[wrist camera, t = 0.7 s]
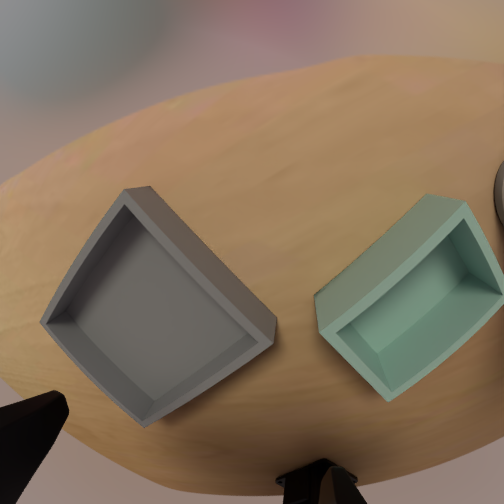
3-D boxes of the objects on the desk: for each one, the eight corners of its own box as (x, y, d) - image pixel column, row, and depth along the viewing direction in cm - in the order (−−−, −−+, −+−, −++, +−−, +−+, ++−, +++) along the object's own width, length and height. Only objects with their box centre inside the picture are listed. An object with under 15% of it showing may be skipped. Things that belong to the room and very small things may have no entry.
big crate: (276, 317, 20) (273, 343, 17) (158, 403, 24) (144, 427, 21) (150, 186, 19) (124, 189, 16) (63, 306, 23) (39, 322, 19)
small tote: (426, 193, 17) (465, 201, 12) (473, 270, 17) (511, 294, 12) (313, 295, 19) (318, 332, 15) (372, 358, 20) (388, 402, 15)
